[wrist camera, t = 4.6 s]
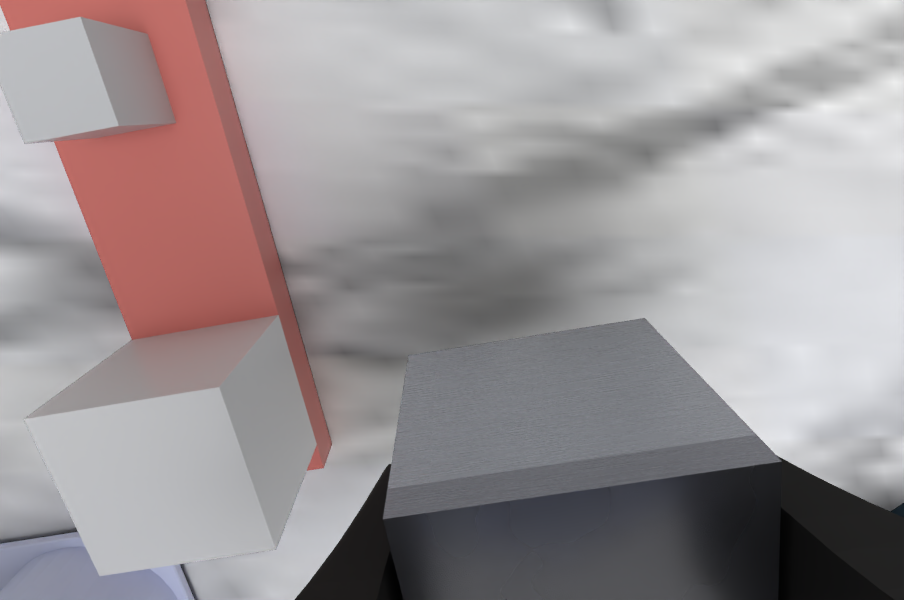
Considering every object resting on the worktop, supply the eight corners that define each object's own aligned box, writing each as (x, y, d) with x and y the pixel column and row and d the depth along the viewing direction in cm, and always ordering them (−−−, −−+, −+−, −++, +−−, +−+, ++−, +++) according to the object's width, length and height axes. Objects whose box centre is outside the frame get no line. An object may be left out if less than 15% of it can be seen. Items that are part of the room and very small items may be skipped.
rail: (331, 444, 22) (285, 578, 15) (207, 464, 22) (113, 603, 16) (189, -55, 16) (29, -157, 10) (25, -21, 16) (-230, -100, 10)
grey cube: (656, 512, 13) (774, 739, 8) (447, 542, 13) (448, 779, 9) (644, 318, 12) (781, 461, 7) (408, 355, 12) (382, 519, 7)
